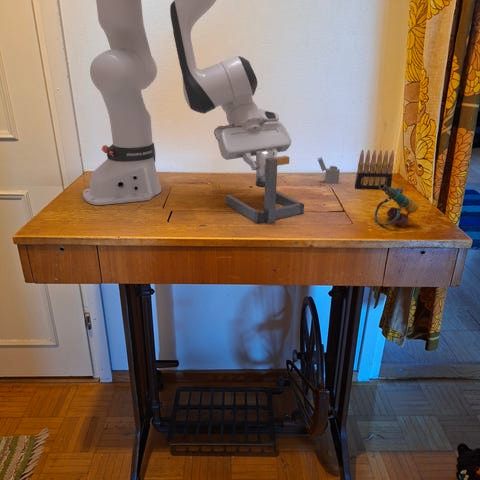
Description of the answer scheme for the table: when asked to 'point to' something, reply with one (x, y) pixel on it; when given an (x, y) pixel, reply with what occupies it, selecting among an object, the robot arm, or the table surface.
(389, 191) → the binoculars
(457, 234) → the table surface
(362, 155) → the ammunition clip
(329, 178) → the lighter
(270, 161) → the grey metal bar frame
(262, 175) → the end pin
